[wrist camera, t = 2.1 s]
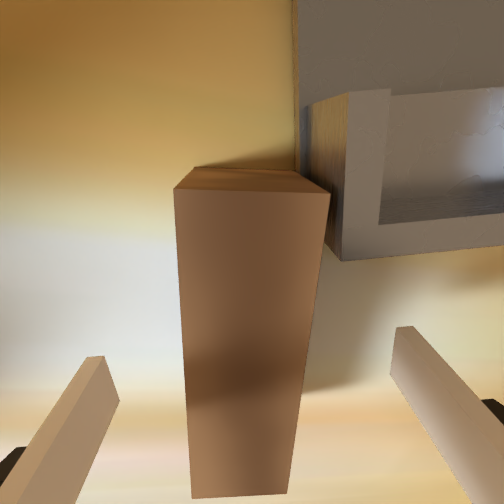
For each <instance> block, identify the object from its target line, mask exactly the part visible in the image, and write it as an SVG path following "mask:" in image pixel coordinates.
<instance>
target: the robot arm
mask: <svg viewBox="0 0 504 504" xmlns="http://www.w3.org/2000/svg"><path fill="white" fill-rule="evenodd" d="M390 375H391V377H392V378H393V380H394V381H395V383H396V384H397V386H398V388H399V389H400V391H401V392H402V394H403V395H404V397H405V399H406V400H407V402H408V403H409V405H410V406H411V408H412V410H413V411H414V413H415V414H416V416H417V418H418V419H419V421H420V422H421V424H422V425H423V427H424V429H425V430H426V432H427V433H428V435H429V436H430V438H431V440H432V441H433V443H434V444H435V446H436V447H437V449H438V451H439V452H440V454H441V455H442V457H443V458H444V460H445V462H446V463H447V465H448V466H449V468H450V469H451V471H452V473H453V474H454V476H455V477H456V479H457V480H458V482H459V484H460V485H461V487H462V488H463V490H464V492H465V493H466V495H467V496H468V498H469V499H470V501H471V503H472V504H504V406H503V405H502V404H500V403H499V402H497V401H496V400H494V399H485V400H480V399H479V398H478V397H477V396H476V395H475V393H474V392H473V391H472V390H471V389H470V388H469V387H468V386H467V385H466V384H465V382H464V381H463V380H462V379H461V378H460V377H459V376H458V375H457V374H456V373H455V371H454V370H453V369H452V368H451V367H450V366H449V365H448V364H447V363H446V362H445V361H444V359H443V358H442V357H441V356H440V355H439V354H438V353H437V352H436V351H435V350H434V348H433V347H432V346H431V345H430V344H429V343H428V342H427V341H426V340H425V339H424V338H423V336H422V335H421V334H420V333H419V332H418V331H417V330H416V329H415V328H414V327H413V326H407V327H397V328H396V332H395V340H394V347H393V355H392V362H391V369H390ZM119 401H120V400H119V397H118V394H117V391H116V388H115V385H114V383H113V380H112V377H111V374H110V371H109V368H108V365H107V362H106V360H105V357H104V356H96V357H87V358H86V359H85V361H84V362H83V364H82V365H81V367H80V368H79V370H78V371H77V373H76V374H75V376H74V377H73V379H72V380H71V382H70V383H69V385H68V386H67V388H66V389H65V391H64V392H63V394H62V395H61V397H60V398H59V400H58V401H57V403H56V404H55V406H54V407H53V409H52V410H51V412H50V413H49V415H48V416H47V418H46V419H45V421H44V422H43V424H42V425H41V427H40V428H39V430H38V431H37V433H36V434H35V436H34V437H33V439H32V440H31V442H30V443H29V445H28V446H27V447H17V448H15V449H14V450H13V451H12V452H11V453H10V454H9V455H8V456H7V457H6V458H5V459H4V460H3V461H1V462H0V504H75V502H76V500H77V498H78V496H79V493H80V491H81V489H82V486H83V484H84V482H85V479H86V477H87V475H88V473H89V470H90V468H91V466H92V463H93V461H94V459H95V456H96V454H97V452H98V450H99V447H100V445H101V443H102V440H103V438H104V436H105V434H106V431H107V429H108V427H109V424H110V422H111V420H112V417H113V415H114V413H115V411H116V408H117V406H118V404H119Z"/></svg>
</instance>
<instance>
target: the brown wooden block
mask: <svg viewBox="0 0 504 504" xmlns="http://www.w3.org/2000/svg"><path fill="white" fill-rule="evenodd" d="M173 192H174V209H175V226H176V242H177V259H178V276H179V292H180V309H181V326H182V343H183V359H184V376H185V393H186V410H187V426H188V443H189V460H190V476H191V493H192V499H200V498H218V497H237V496H255V495H274V494H287V489H288V483H289V476H290V469H291V462H292V455H293V448H294V441H295V435H296V428H297V421H298V414H299V407H300V400H301V394H302V387H303V380H304V373H305V366H306V359H307V352H308V346H309V339H310V332H311V325H312V318H313V311H314V305H315V298H316V291H317V284H318V277H319V270H320V263H321V257H322V250H323V243H324V236H325V229H326V222H327V216H328V209H329V202H330V195H331V194H330V193H329V192H327V191H325V190H324V189H322V188H321V187H319V186H317V185H316V184H314V183H313V182H311V181H309V180H308V179H306V178H305V177H303V176H301V175H300V174H298V173H297V172H295V171H290V170H263V169H235V168H208V167H194V169H193V170H192V171H191V172H190V173H189V174H188V175H187V176H186V177H185V178H184V179H183V180H182V181H181V182H180V183H179V184H178V185H177V186H176V187H175V188H174V189H173Z"/></svg>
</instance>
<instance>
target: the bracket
mask: <svg viewBox="0 0 504 504" xmlns="http://www.w3.org/2000/svg"><path fill="white" fill-rule="evenodd" d="M292 12H293V64H294V116H295V168H296V172H297V173H298V174H300V175H301V176H303V177H305V178H306V179H308V180H309V181H311V182H313V183H314V184H316V185H317V186H319V187H321V188H322V189H324V190H325V191H327V192H329V193H330V194H331V195H330V202H329V209H328V216H327V222H326V229H325V236H324V242H325V243H326V244H327V245H328V247H329V248H330V249H331V250H332V251H333V253H334V254H335V255H336V256H337V257H338V258H339V260H340V261H341V262H342V261H352V260H362V259H372V258H381V257H391V256H401V255H411V254H421V253H431V252H441V251H451V250H461V249H471V248H480V247H490V246H500V245H504V0H292Z"/></svg>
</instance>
